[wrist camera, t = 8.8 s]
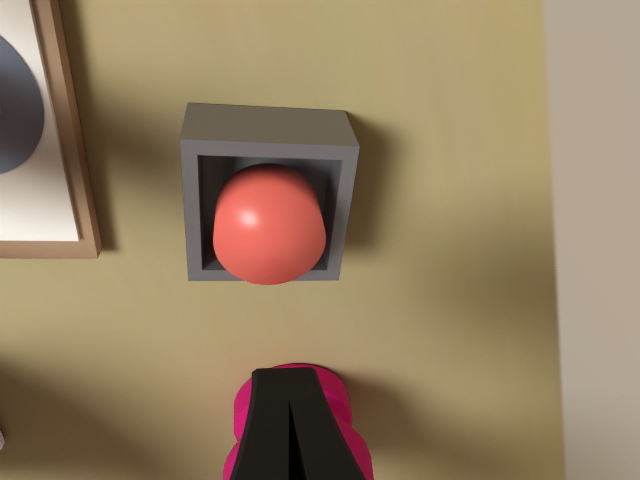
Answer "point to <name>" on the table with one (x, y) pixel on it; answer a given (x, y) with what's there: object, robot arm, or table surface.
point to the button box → (264, 147)
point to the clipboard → (41, 141)
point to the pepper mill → (338, 406)
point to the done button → (268, 224)
